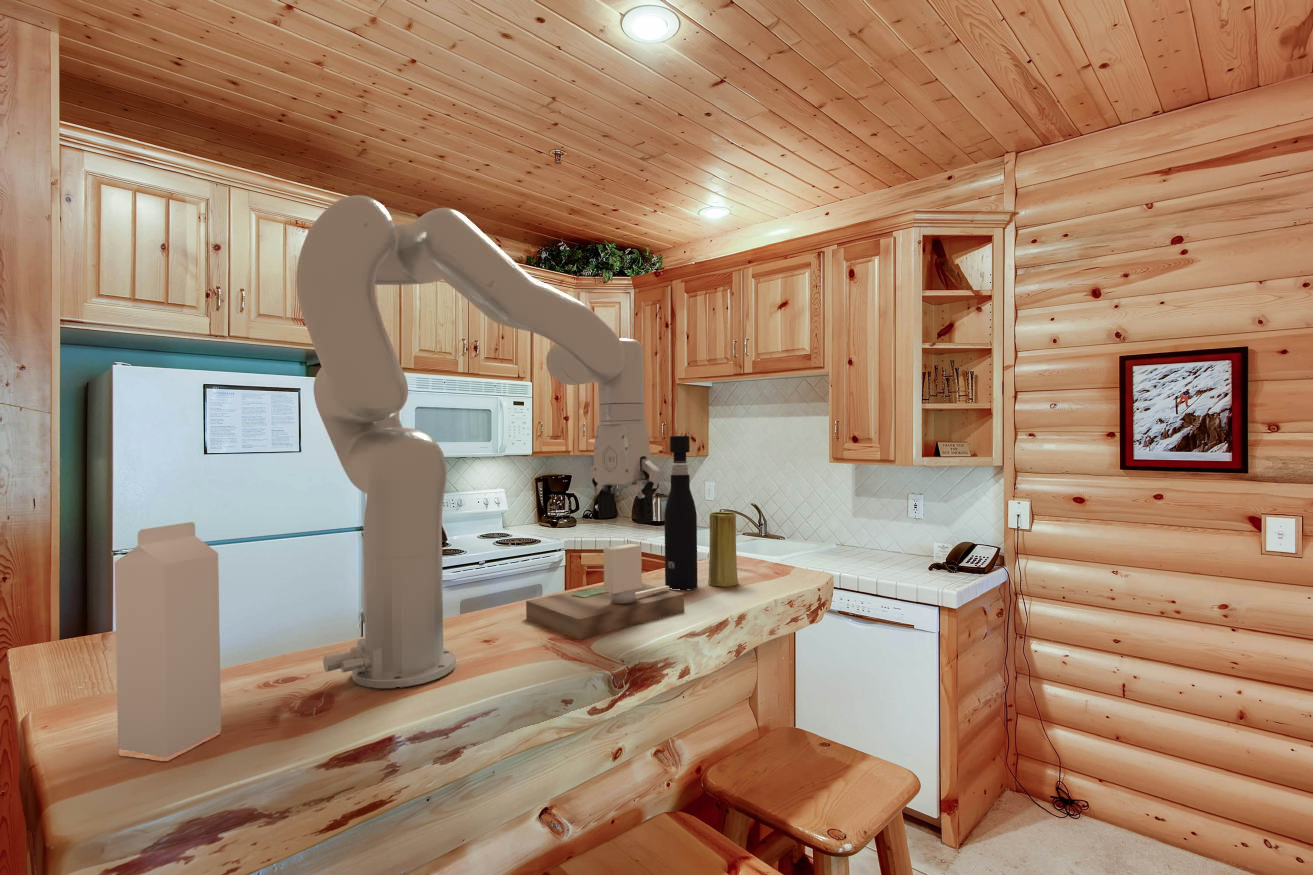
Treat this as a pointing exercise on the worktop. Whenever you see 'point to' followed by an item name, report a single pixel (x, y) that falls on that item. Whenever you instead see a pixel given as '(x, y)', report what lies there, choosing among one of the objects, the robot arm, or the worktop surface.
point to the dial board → (600, 610)
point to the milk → (167, 642)
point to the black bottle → (680, 523)
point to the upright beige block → (624, 573)
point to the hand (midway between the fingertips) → (625, 519)
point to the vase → (723, 550)
